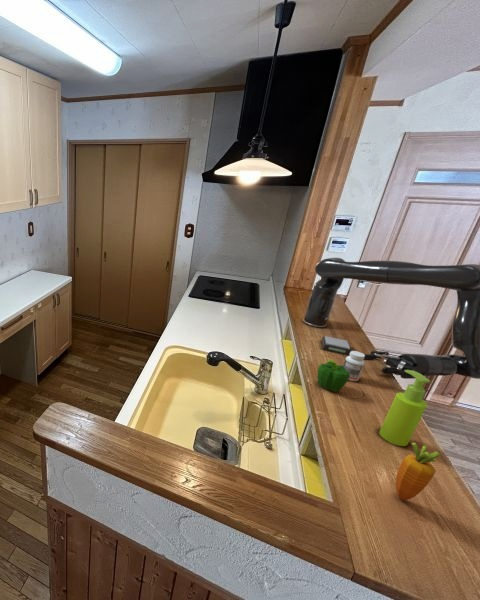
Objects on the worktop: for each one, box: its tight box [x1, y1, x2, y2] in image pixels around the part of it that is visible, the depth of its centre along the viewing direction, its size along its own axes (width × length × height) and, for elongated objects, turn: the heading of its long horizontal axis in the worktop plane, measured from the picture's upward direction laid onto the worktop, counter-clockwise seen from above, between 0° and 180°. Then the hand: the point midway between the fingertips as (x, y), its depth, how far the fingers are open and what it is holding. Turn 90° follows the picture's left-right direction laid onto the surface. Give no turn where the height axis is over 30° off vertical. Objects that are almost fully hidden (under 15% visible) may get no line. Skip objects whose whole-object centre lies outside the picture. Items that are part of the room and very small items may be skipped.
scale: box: [320, 335, 352, 356], centre depth 136 cm, size 9×9×3 cm
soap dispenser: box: [379, 370, 431, 447], centre depth 86 cm, size 6×7×20 cm
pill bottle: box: [342, 350, 366, 382], centre depth 115 cm, size 5×5×10 cm
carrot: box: [395, 442, 441, 501], centre depth 69 cm, size 5×5×15 cm
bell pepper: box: [316, 359, 350, 392], centre depth 109 cm, size 8×8×10 cm
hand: (373, 363), depth 114 cm, fingers open, 8 cm apart
